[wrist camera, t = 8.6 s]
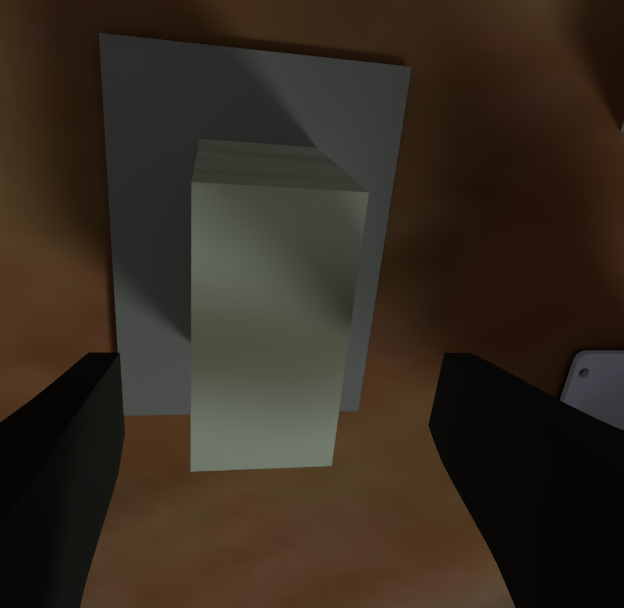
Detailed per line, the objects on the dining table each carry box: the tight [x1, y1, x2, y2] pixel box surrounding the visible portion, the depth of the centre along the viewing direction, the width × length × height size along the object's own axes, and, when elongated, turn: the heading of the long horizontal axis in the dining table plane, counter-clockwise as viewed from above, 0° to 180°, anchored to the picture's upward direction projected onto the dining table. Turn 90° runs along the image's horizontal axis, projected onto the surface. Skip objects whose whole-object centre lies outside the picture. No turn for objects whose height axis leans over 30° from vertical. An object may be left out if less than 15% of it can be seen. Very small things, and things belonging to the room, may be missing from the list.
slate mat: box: [99, 33, 412, 416], centre depth 20 cm, size 14×10×1 cm
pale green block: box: [191, 139, 369, 471], centre depth 17 cm, size 8×4×7 cm, turn 175°
